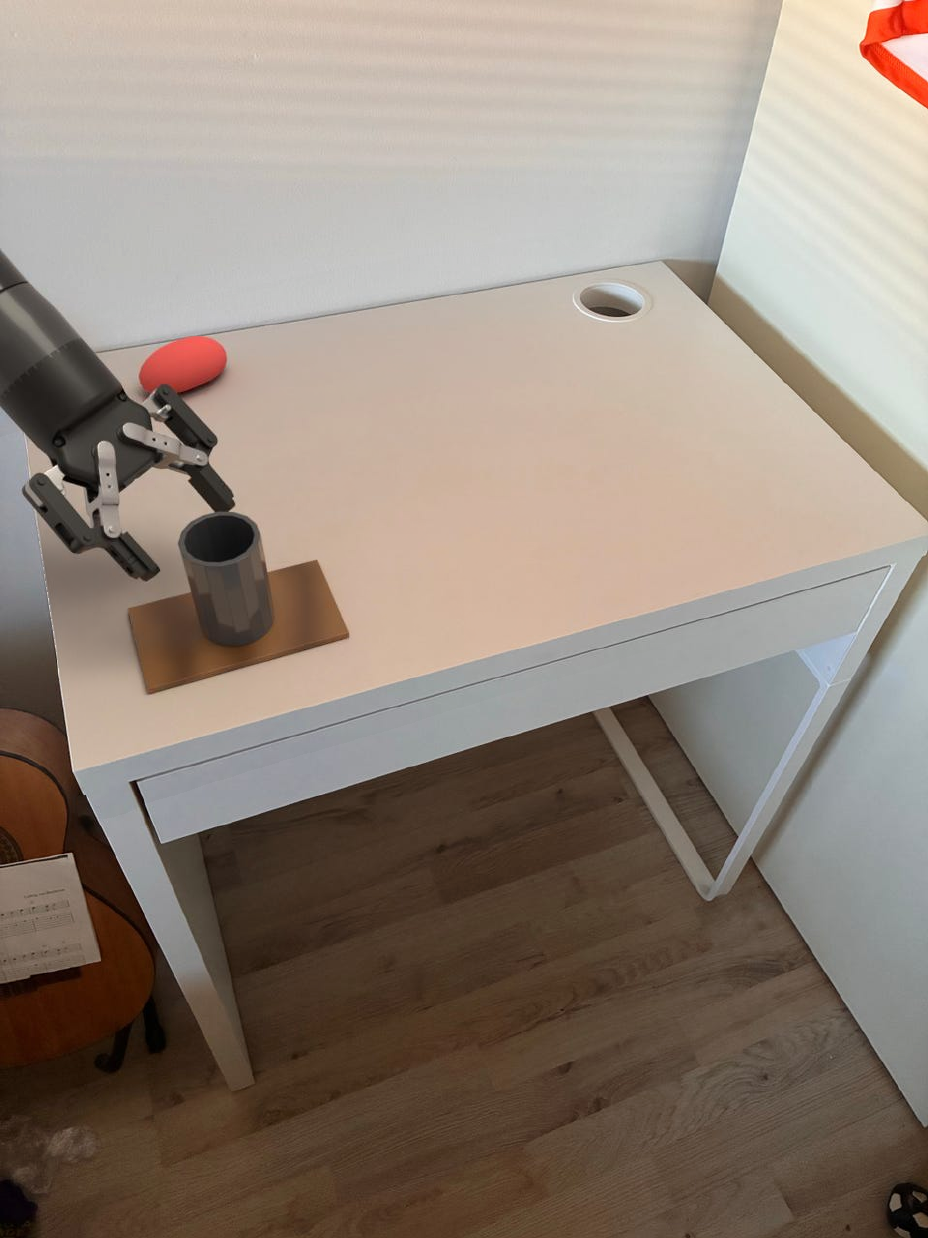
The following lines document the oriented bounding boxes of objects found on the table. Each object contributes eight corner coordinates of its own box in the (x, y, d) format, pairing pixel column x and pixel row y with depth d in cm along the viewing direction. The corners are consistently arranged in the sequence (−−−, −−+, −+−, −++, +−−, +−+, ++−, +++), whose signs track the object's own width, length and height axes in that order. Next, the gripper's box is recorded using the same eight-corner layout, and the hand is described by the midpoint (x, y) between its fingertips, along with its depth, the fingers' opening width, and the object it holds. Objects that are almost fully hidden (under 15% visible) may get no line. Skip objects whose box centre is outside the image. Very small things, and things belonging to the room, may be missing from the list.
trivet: (148, 694, 73) (147, 689, 72) (129, 612, 78) (127, 607, 78) (349, 637, 77) (349, 632, 76) (317, 563, 82) (317, 558, 82)
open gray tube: (209, 655, 74) (187, 574, 68) (193, 603, 78) (171, 522, 71) (282, 635, 76) (268, 554, 69) (264, 585, 80) (249, 503, 73)
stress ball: (235, 404, 100) (240, 342, 98) (149, 398, 94) (152, 333, 92) (217, 395, 104) (221, 336, 102) (133, 389, 98) (135, 326, 96)
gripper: (-31, 397, 61) (146, 589, 66) (127, 299, 69) (273, 476, 74) (-57, 437, 66) (108, 611, 71) (92, 342, 75) (230, 504, 80)
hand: (192, 542), depth 73 cm, fingers open, 8 cm apart
